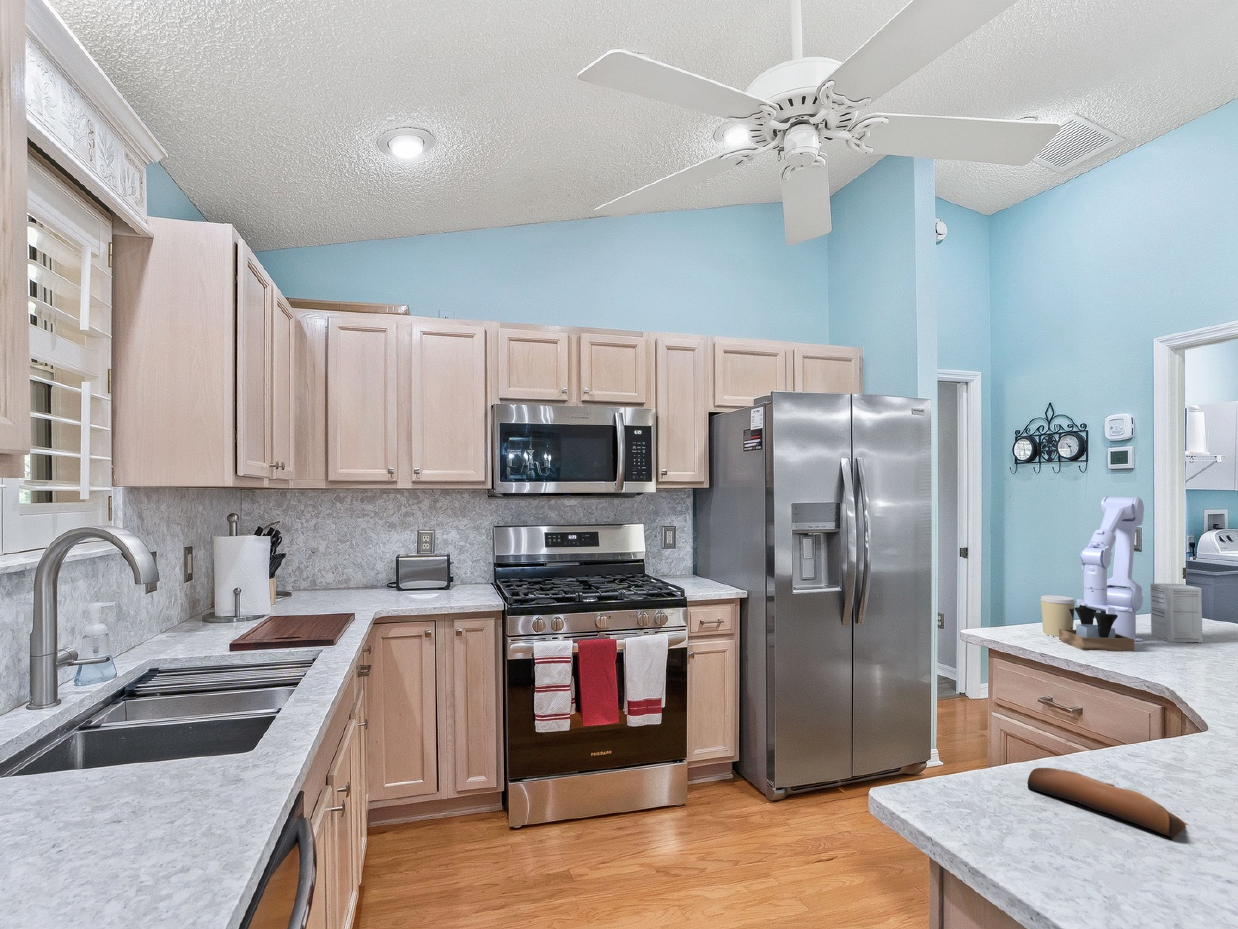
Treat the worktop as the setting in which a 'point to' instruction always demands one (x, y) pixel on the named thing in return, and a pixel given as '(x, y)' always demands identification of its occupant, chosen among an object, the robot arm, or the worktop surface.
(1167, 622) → the supplement box
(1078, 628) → the slate crate
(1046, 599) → the coffee cup
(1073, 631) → the walnut crate
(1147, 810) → the sunglasses case
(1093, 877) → the worktop surface
